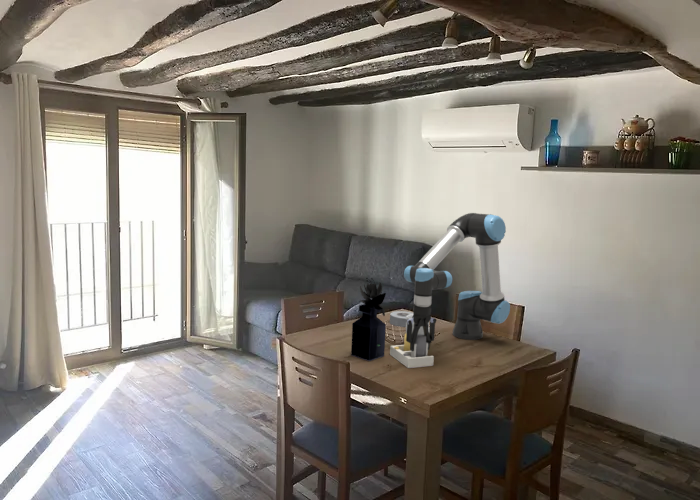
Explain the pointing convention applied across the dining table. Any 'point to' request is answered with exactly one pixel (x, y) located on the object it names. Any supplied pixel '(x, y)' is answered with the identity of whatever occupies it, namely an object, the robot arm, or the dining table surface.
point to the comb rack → (406, 357)
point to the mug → (413, 325)
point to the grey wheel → (399, 318)
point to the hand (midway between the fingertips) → (419, 357)
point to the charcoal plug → (420, 345)
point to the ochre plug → (406, 344)
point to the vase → (369, 325)
